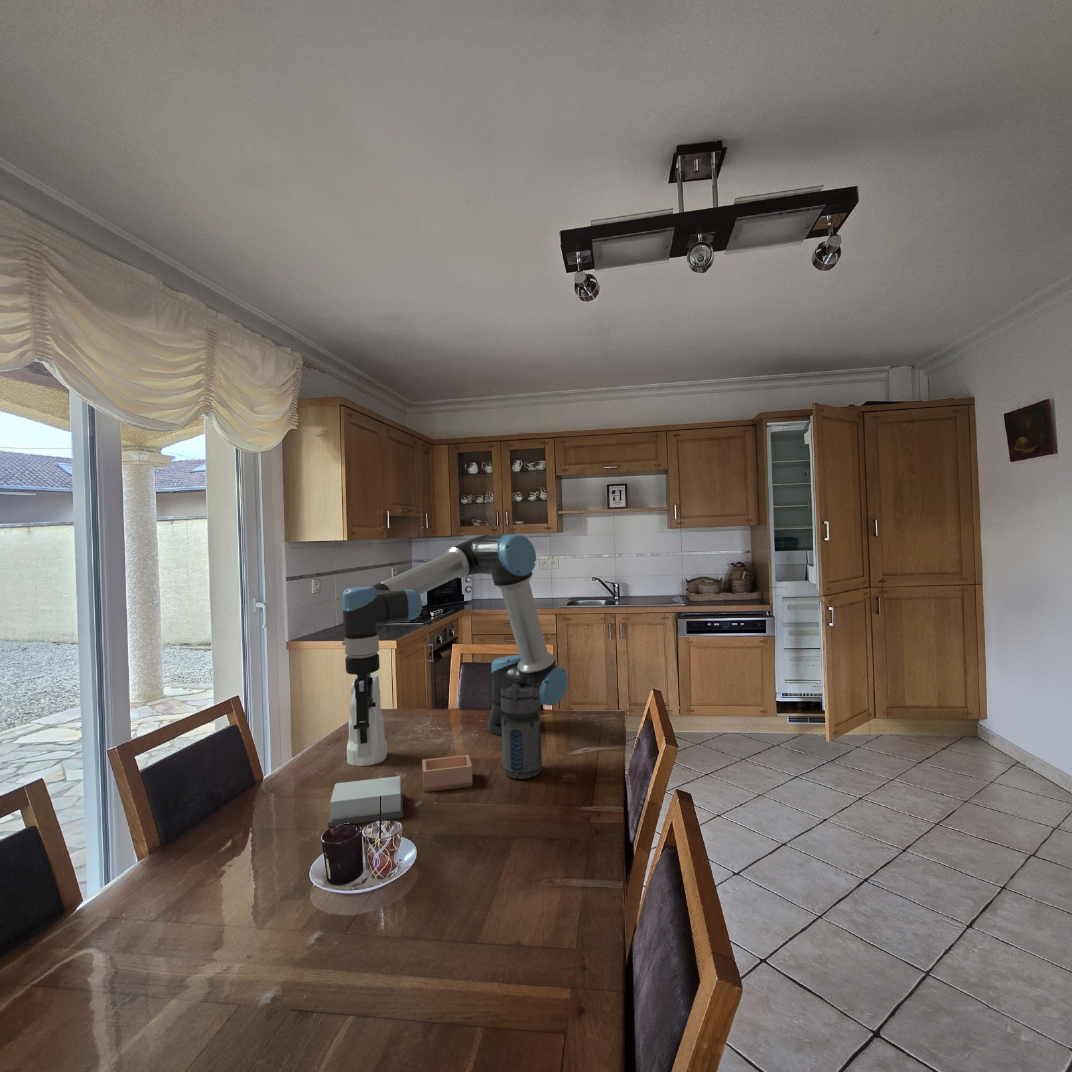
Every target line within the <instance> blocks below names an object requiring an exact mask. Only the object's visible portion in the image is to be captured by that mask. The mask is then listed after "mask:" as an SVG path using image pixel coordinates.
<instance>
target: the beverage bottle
mask: <svg viewBox="0 0 1072 1072" xmlns="http://www.w3.org/2000/svg"><path fill="white" fill-rule="evenodd" d="M518 684H520V686H518ZM503 688H504V687H502V689H501V710H502V711H503V713H504V714H505V715H504V716H503V717H502V736H501V742H502V770H503V772H504V774H505V776H507V777H509V778H512V779H515V778H516V780H527V778H528V779H531V778H534V777H537V776H538V775H539V774H540V773H541V771H542V767H543V763H542V739H541V738H542V736H541V732H542V730H541V716H540V714H538V712H539V711H540V709H541V704H540V696H539V690H538V688H533V687H530V678H529V676H527V675H523V676H522V677H521V678H520V681H519V682H512V687H509V688H507V689H505V690H504V689H503Z"/></svg>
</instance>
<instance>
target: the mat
mask: <svg viewBox="0 0 1072 1072" xmlns="http://www.w3.org/2000/svg"><path fill="white" fill-rule="evenodd" d="M403 804H404V790H401V811H398V812H390V813H382V815H381V816H380V814H375V815H367V816H359V817H351V818H343V819H335V820H331V811H330V813H329V816H328V819H327V827H328V828H333V827H335V826H334V825H339V824H344V823H356V824H361V823H363V824H364V823H369V822H371V823H372V822H377V821H376V820H379V819H380V817H381V818H382V819H385V820H393V819H400V818H401V819H402V818H404V805H403ZM385 820H384V821H385ZM379 821H380V820H379Z"/></svg>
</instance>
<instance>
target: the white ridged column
mask: <svg viewBox="0 0 1072 1072" xmlns="http://www.w3.org/2000/svg"><path fill="white" fill-rule="evenodd" d="M370 674H371V677H373V684H372V697H373V702H376V707H370V708H373V718H374V735H373V736H370V739H371V756H370V757H362V758H358V740H357V729H354V728H353V726H354V725H356V698H355V688H354V682H355V679H357V675H356V676H355V677H354V678H353V682H352V684H351V688H350V695H351V696H350V701H349V718H348V741H347V745H346V761H347V762H346V763H347V764H348V765H350V766H355V767H366V766H373V765H375V764H380V763H381V762H383V761H384V760H386V759H387V756H388V747H387V745H388V744H387V743H388V742H387V740H386V738H385V728H384V727H385V726H384V725H385V723H384V716H383V714H382V709H381V706H382V705H381V689H380V679H379V678H380V677H379V674H378V673H377V672H373V673H370ZM361 722H362V721H361ZM361 722H360V723H361Z"/></svg>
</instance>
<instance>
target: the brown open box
mask: <svg viewBox="0 0 1072 1072" xmlns="http://www.w3.org/2000/svg"><path fill="white" fill-rule="evenodd" d="M470 758H471V757H470V754H464V755H455V756H454V755H453V756H445V757H436V758H427V759H422V760H421V763H422V768H421V769H422V787H423V792H424V793H428V792H436V791H444V790H452V789H460V788H467V787H468V788H469V787H473V766H472V762H471V759H470Z"/></svg>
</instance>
